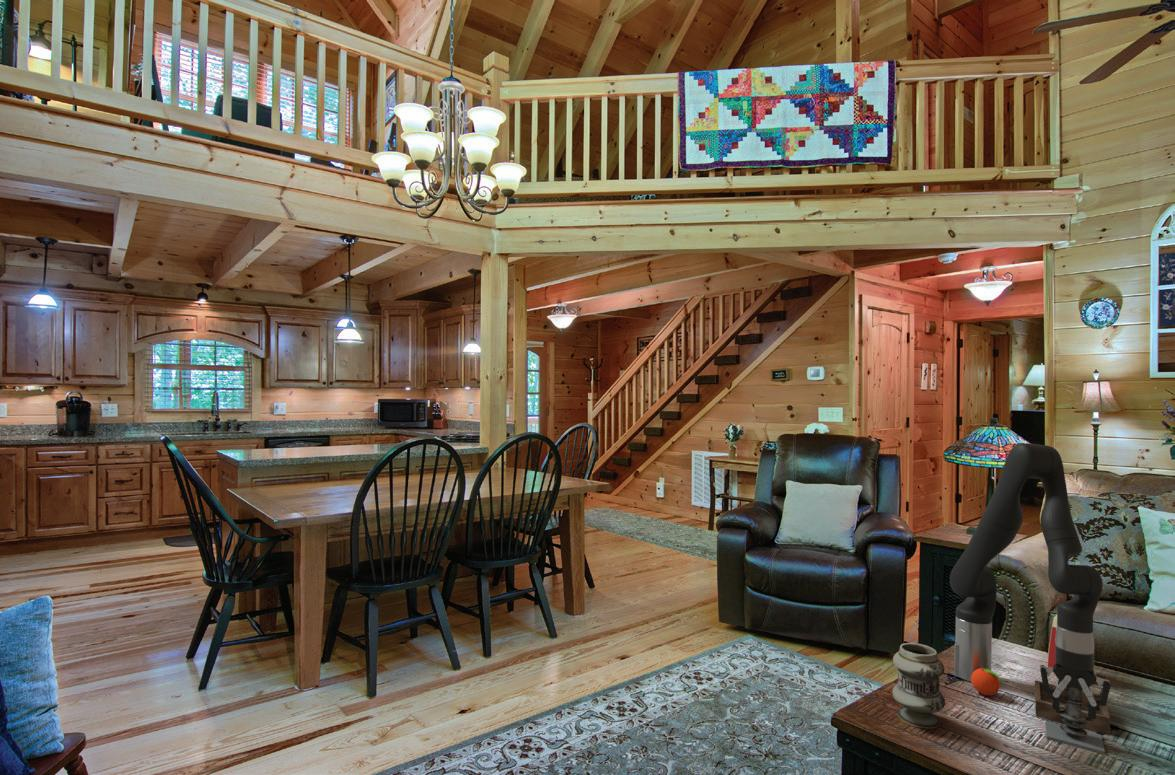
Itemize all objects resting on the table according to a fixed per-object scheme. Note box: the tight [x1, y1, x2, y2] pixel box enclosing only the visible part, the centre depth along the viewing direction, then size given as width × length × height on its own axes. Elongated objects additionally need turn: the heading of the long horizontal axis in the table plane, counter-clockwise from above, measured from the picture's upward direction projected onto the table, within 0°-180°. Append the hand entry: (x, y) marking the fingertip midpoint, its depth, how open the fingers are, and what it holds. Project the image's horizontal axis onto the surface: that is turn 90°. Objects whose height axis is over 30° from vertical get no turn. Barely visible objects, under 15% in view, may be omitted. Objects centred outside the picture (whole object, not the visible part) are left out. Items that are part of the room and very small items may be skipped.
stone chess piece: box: [1059, 687, 1089, 736], centre depth 154 cm, size 6×6×12 cm
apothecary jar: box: [892, 642, 946, 729], centre depth 162 cm, size 12×12×18 cm
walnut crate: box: [1034, 680, 1111, 735], centre depth 166 cm, size 15×15×4 cm
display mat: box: [1045, 720, 1106, 755], centre depth 154 cm, size 11×9×1 cm
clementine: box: [971, 668, 1003, 696], centre depth 176 cm, size 8×7×7 cm
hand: (1073, 715), depth 154 cm, fingers closed on stone chess piece, 5 cm apart
